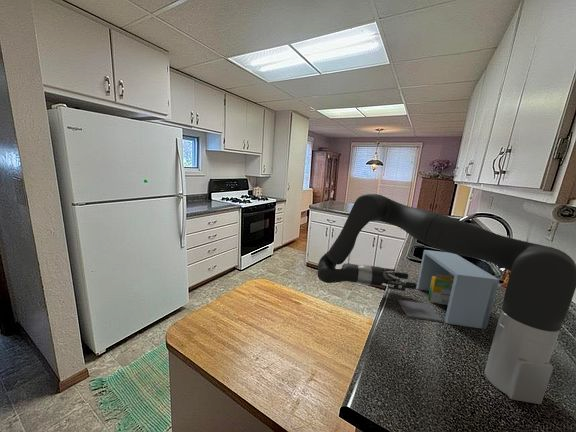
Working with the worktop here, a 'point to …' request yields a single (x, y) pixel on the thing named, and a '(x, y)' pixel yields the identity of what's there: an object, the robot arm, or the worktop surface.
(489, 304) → the cubby
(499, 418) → the worktop surface
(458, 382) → the worktop surface
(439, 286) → the crayon box
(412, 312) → the mat
